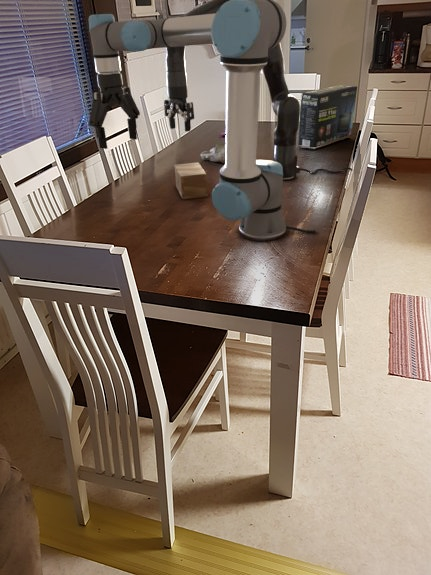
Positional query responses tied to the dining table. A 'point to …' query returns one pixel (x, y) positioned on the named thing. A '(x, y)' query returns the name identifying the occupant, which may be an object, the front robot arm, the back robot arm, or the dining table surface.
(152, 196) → the dining table surface
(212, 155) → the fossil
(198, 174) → the tan wooden block
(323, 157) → the dining table surface
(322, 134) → the router box
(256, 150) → the front robot arm
